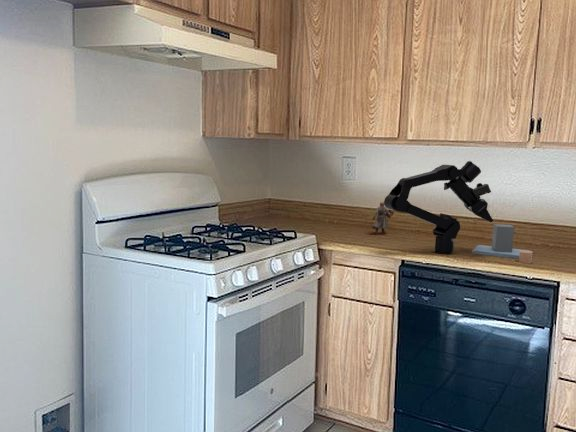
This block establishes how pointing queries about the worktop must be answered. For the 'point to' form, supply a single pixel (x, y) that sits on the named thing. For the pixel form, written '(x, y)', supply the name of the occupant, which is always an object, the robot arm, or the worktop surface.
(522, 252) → the exposed block
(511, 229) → the tall gray block
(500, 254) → the board
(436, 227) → the robot arm
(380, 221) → the figurine
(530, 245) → the worktop surface
